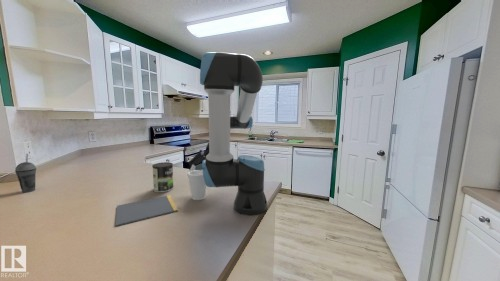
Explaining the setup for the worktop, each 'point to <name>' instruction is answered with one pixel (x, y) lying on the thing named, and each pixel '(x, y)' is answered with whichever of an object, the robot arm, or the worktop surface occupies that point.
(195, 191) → the foam cup
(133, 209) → the mat
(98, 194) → the worktop surface
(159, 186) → the coffee can
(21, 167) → the beverage cup
